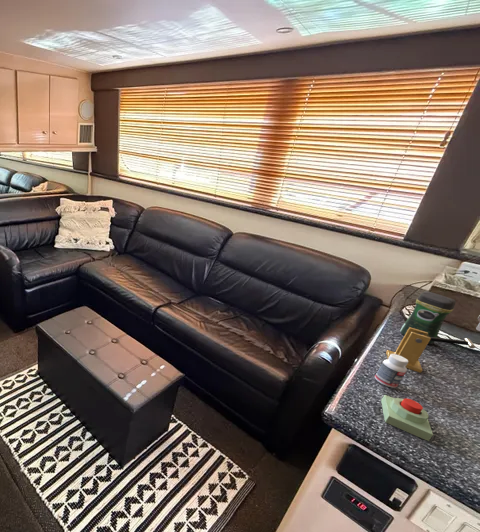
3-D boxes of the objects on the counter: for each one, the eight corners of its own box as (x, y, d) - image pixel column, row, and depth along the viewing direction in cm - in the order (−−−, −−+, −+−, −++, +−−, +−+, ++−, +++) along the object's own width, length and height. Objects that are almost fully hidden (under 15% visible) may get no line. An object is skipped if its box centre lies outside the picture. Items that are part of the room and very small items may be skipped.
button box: (380, 400, 88) (387, 389, 86) (420, 416, 83) (428, 405, 82) (384, 422, 80) (392, 410, 79) (428, 441, 76) (437, 429, 74)
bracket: (416, 362, 107) (434, 333, 103) (420, 373, 102) (439, 342, 97) (385, 352, 111) (401, 323, 107) (388, 361, 106) (404, 331, 102)
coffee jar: (435, 342, 122) (461, 299, 115) (429, 346, 118) (455, 302, 111) (403, 329, 130) (425, 288, 123) (395, 333, 126) (418, 291, 119)
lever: (469, 343, 98) (470, 336, 97) (474, 350, 94) (475, 343, 93) (409, 336, 106) (409, 330, 105) (411, 343, 102) (412, 336, 102)
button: (399, 401, 83) (402, 396, 82) (418, 408, 81) (421, 403, 80) (401, 409, 80) (404, 403, 79) (420, 417, 78) (424, 411, 77)
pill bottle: (391, 390, 92) (406, 365, 89) (370, 378, 97) (383, 354, 93) (400, 386, 94) (415, 361, 91) (379, 374, 99) (392, 351, 96)
